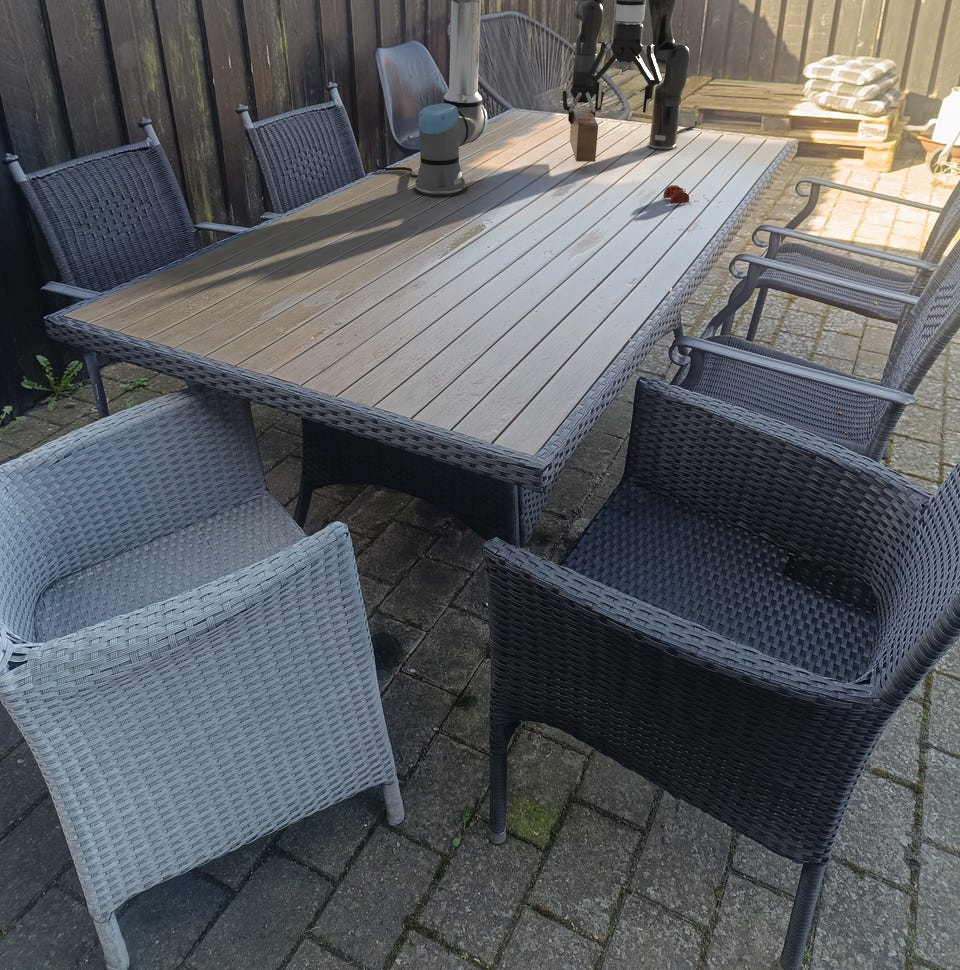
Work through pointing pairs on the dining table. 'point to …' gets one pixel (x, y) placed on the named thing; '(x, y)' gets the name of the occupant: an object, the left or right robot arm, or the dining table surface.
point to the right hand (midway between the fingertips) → (581, 123)
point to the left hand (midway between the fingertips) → (621, 109)
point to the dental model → (676, 194)
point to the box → (584, 134)
